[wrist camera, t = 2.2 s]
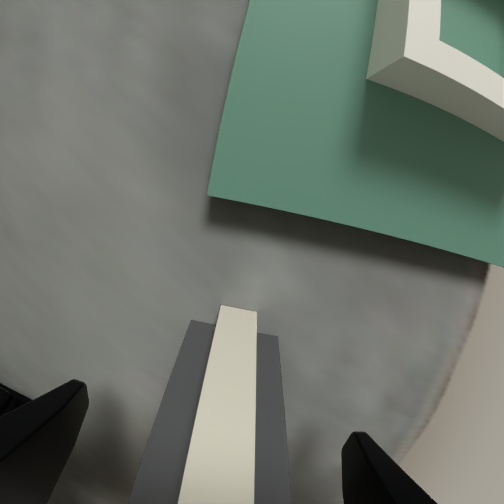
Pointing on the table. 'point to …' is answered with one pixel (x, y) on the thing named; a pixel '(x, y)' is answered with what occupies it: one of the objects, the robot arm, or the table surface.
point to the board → (371, 118)
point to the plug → (219, 421)
